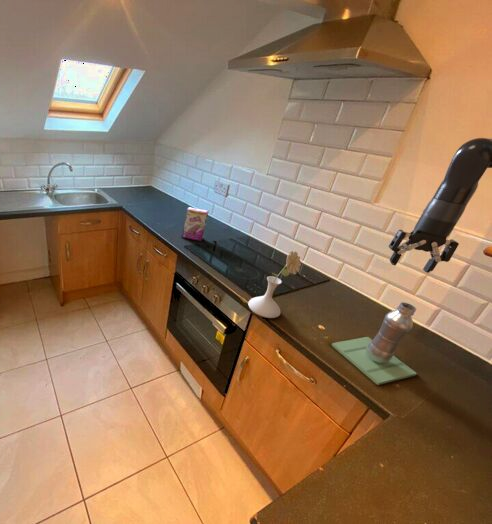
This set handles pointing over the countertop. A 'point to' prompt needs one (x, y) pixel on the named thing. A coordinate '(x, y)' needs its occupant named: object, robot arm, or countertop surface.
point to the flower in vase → (265, 303)
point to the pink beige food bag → (195, 223)
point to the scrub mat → (372, 362)
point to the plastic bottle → (391, 333)
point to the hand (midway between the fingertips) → (409, 267)
